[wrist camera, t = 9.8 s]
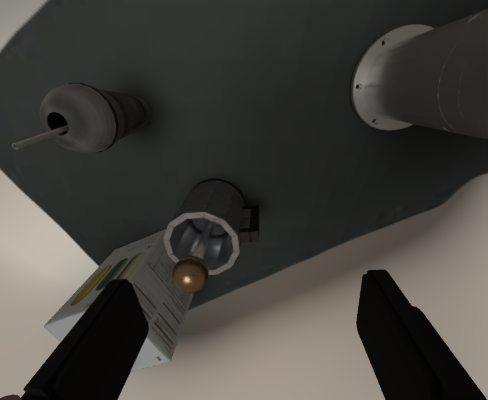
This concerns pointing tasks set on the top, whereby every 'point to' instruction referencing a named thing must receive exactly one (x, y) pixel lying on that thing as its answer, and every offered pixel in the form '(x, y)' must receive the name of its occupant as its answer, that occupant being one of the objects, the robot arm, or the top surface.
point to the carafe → (217, 210)
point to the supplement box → (147, 290)
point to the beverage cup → (88, 117)
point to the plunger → (196, 259)
